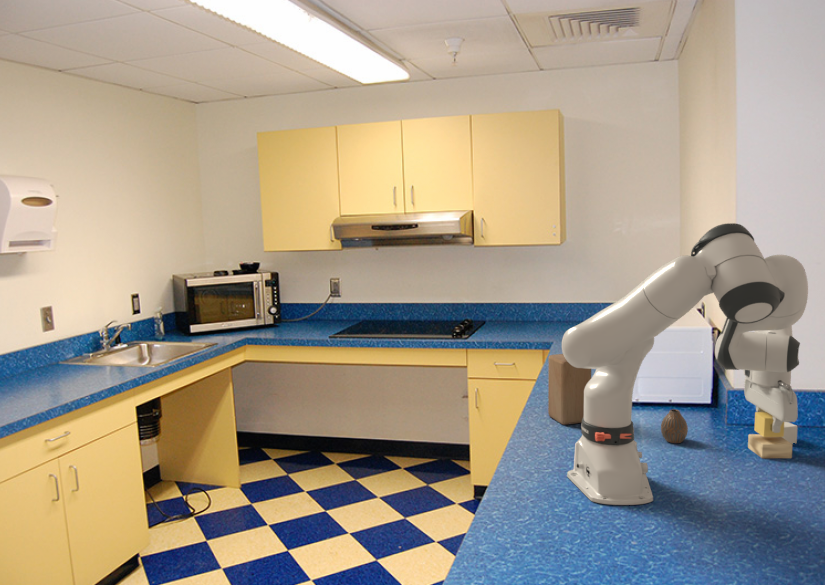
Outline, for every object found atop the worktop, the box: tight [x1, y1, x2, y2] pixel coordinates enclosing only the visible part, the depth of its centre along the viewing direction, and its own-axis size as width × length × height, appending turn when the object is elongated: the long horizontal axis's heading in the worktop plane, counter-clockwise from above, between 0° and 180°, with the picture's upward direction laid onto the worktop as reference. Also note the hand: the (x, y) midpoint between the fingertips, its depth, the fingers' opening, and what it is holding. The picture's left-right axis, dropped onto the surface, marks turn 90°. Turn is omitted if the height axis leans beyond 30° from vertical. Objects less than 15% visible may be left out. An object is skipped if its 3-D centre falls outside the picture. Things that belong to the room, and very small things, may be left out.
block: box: [547, 353, 592, 426], centre depth 197 cm, size 10×10×20 cm
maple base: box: [747, 433, 793, 459], centre depth 168 cm, size 8×8×4 cm
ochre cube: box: [754, 411, 784, 437], centre depth 168 cm, size 5×5×5 cm
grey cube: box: [782, 422, 798, 445], centre depth 176 cm, size 5×5×5 cm
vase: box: [660, 408, 689, 444], centre depth 178 cm, size 7×7×9 cm
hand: (768, 427), depth 168 cm, fingers closed on ochre cube, 5 cm apart
